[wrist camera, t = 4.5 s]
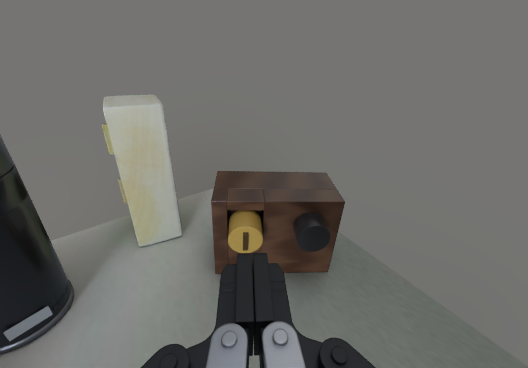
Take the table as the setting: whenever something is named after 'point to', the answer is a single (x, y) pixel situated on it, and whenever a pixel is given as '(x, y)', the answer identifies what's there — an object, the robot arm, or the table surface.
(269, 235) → the control box
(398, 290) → the table surface
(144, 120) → the toy refrigerator
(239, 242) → the brass knob
